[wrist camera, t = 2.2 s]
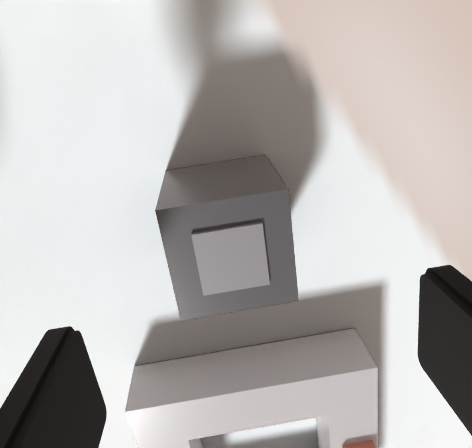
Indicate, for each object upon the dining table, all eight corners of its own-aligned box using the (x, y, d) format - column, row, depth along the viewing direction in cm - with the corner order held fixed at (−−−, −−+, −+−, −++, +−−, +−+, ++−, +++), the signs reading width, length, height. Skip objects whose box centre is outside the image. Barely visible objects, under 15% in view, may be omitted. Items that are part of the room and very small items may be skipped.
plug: (165, 170, 18) (155, 212, 13) (264, 154, 18) (289, 190, 13) (184, 258, 20) (180, 323, 15) (274, 243, 20) (299, 303, 15)
